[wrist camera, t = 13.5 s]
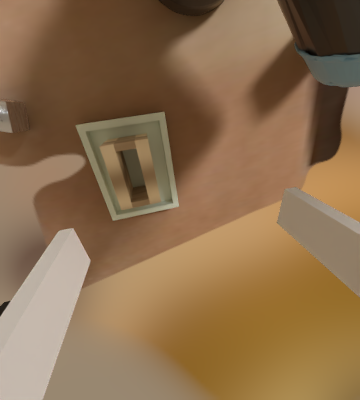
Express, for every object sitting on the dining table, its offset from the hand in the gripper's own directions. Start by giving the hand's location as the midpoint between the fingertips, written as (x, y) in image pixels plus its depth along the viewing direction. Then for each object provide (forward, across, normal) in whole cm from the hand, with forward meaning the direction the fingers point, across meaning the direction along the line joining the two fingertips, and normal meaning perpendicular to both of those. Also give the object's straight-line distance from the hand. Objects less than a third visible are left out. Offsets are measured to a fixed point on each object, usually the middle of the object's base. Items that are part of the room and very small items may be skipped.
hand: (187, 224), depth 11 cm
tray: (+23, -5, -3) cm, 24 cm away
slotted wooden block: (+22, -5, -2) cm, 23 cm away
